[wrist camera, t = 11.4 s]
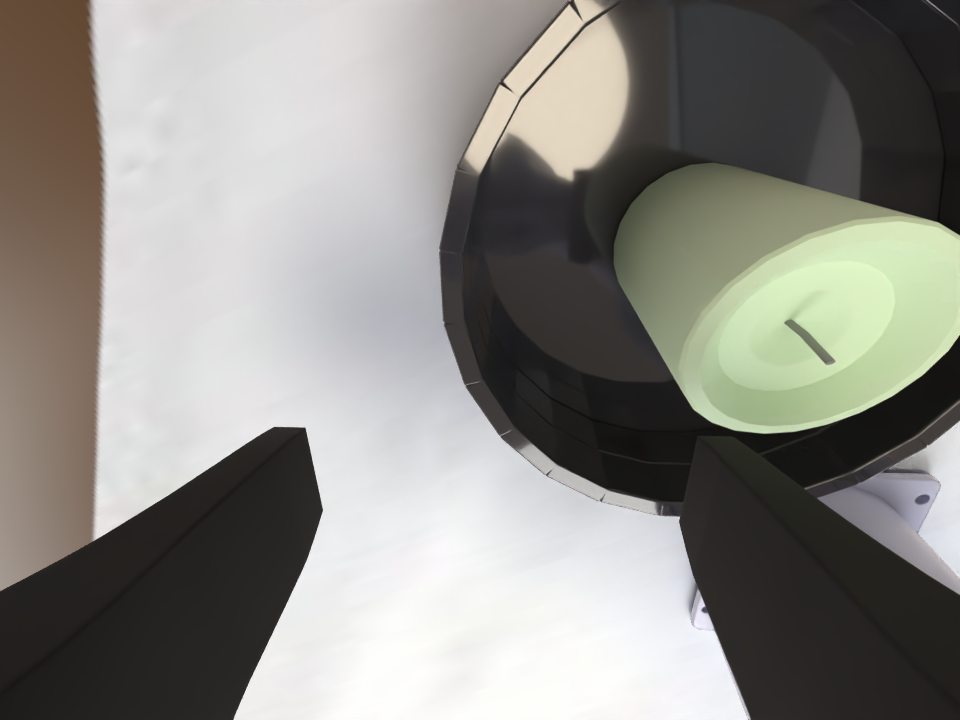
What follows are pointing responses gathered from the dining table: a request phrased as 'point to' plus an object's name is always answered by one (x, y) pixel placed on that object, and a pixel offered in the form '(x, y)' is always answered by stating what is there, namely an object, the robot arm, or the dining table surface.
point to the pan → (644, 159)
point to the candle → (785, 295)
